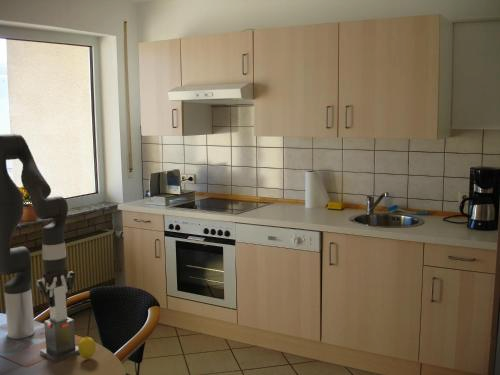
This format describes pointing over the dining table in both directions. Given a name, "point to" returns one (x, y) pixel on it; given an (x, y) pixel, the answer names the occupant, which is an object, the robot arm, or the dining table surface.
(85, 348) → the lemon
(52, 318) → the column
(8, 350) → the dining table surface
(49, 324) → the stand base
